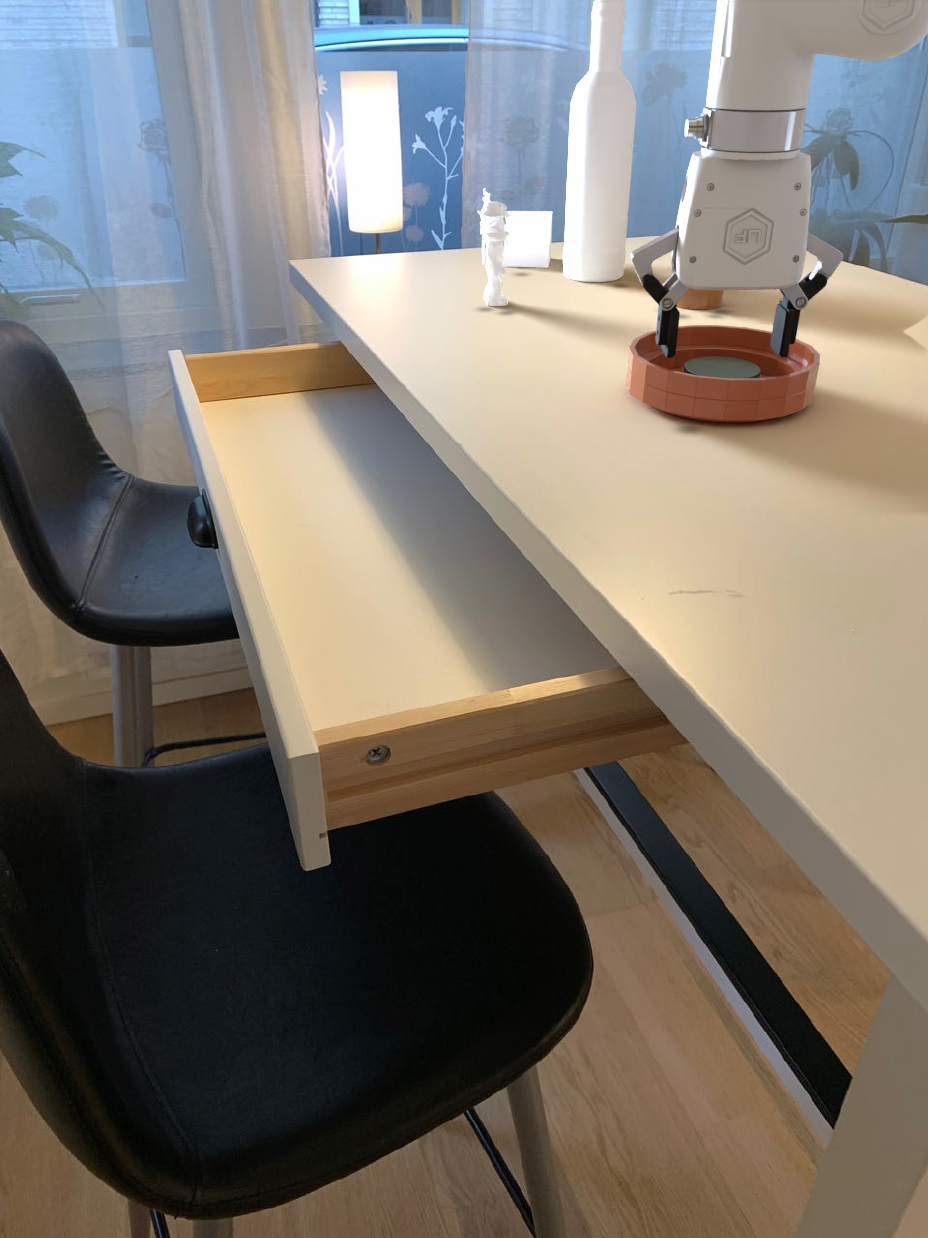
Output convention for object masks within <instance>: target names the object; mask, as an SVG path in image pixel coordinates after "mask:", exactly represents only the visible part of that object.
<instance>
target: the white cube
mask: <svg viewBox="0 0 928 1238" xmlns="http://www.w3.org/2000/svg"><path fill="white" fill-rule="evenodd" d="M507 213H510V214H512V216H510V217H506V224H505V225H504V230H505V231H507V232H508V233H509V234H510V235H506V238H507V241H508V245H507V243H506V239H504V240H503V259H504V263H503V264H504V266H505V268H547V269H548V268H549V266H550V263H551V258H552V235H553V234H552V233H553V211H543V210H542V211H541V210H540V211H539V210H538V211H537V210H536V211H534V210H507Z"/></svg>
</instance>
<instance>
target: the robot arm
mask: <svg viewBox="0 0 928 1238" xmlns="http://www.w3.org/2000/svg"><path fill="white" fill-rule="evenodd" d="M927 35H928V0H717V1H716V10H715V20H714V27H713V38H712V47H711V57H710V66H709V74H708V75H709V76H708V83H707V84H708V85H707V93H706V103H705V106H706V107H703V108H702V109H703V110H702V112H701V113H700V115H696V117H687V118H686V119H685V122H684V137H685V138H694V140H697V141H699V145H701V148H700V150H699V151H694V152H692V155H691V158H690V161H689V165H688V169H687V171H686V175H685V180H684V183H683V188H682V191H681V197H680V203H679V208H678V212H677V216H676V217H677V218H676V224H675V228H673V229H671V230H669V231H668V232H666V233H663V234H662V235H660V236H659V237H657V238H655V239H653V240H651V241H648V242H647V243H645V244H643V245H640V247H638V248H635V249H634V250H632V251H631V253H630V254H629V259H630V262H631V263H632V266H633V268H634V270H635V274H636V275H637V277H638V280H639V282H640V284H641V286H642V287H643V289H644V290H645V291H646V293H647V294H648V295H649V296H650V297H651V298H652V299H653V300H654V301H655V303H657V305H658V309H657V319H656V327H655V328H656V329H655V331H656V344H657V345H661V349H662V351H663V353H664V354H665V356H666V358H673V356H675V354H676V345H677V335H678V327H680V325H679V324H680V317H681V316H680V315H681V313H680V310H679V309H678V307H677V303H678V302H679V301H680V299H681V298H682V297H683V296H684V295H685V294H686V293H687V292H688V291H689V290H690V289H696V290H725V291H771V290H772V291H773V290H774V291H775V290H778V291H779V292H780V294H781V295H782V298H781V300H778V303H776V306H775V313H774V319H773V325H772V330H771V332H772V337H771V343H770V346H771V348H772V349H773V350H774V351H775V352H776V353H777V355H779V356H780V357H787V356H788V352H789V346H790V344H794V343H795V340H796V339H797V335H798V334H797V333H798V329H799V323H800V317H801V311H802V310H803V309H805V308H806V307H807V306H808V303H809V301H811V300H812V299H813V298H814V297H815V296H817V294H818V293H820V292H821V291H822V290H824V288H826V286H827V285H828V281H829V279H830V278H832V275H833V274H834V273H835V271H836V270H837V268H838V267H839V265H840V264H841V262H843V259H844V254H843V252H842V251H840V250H839V249H837V248H836V247H835V246H832V245H831V244H829V243H827V242H825V241H824V240H823V239H820V238H819V237H817V236H815V235H814V234H813V233H810V232H809V225H810V213H811V196H812V195H811V193H812V191H811V190H812V160H811V155H810V154H808V153H805V152H801V147H802V141H803V135H804V129H805V122H806V116H807V108H808V102H809V95H810V89H811V82H812V76H813V70H814V65H815V57H816V55H828V56H834V57H842V58H847V59H853V60H859V61H866V62H880V61H885V60H889V59H893V58H896V57H898V56H900V55H903V54H905V53H907V52H908V51H910V50H911V49H913V48H914V47H915V46H917V45H918V44H919V43H920V42H921V41H922V40H923V39H924V38H925V37H926V36H927ZM807 252H808V253H809V254H811V255H812V256H815V257H816V258H817V262H816V264H815V265H814V268H813V270H812V271H810V272H809V273H808V274H806V276H804V277H803V278H802V276H803V273H804V268H805V262H806V255H807ZM669 253H671V271H672V270H673V272H674V273H673V274H672V273H671V275H670V276H669V277H668V278H667V279H666V280H665V281H664V283H661V282H660V280H659V279H658V278H657V277H656V276H655V273H654V271H653V268H652V265H653V262H655V260H657V259H660V258H662V257H663V256H665V255H667V254H669ZM801 278H802V279H801Z"/></svg>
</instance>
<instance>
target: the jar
mask: <svg viewBox="0 0 928 1238" xmlns="http://www.w3.org/2000/svg"><path fill="white" fill-rule="evenodd" d="M673 273H674V272H673V270H672V269H671V275H672V274H673ZM725 293H726V290H696V289H690V290H689V291H688V292H687V293H686V294H685V295H684V296H683V297H682V298H681V299H680V301H679V302H678V303H677V306H678V307H677V308H681V307H682V308H681V309H688V308H689V309H688V310H701V311H702V310H713V309H718V308H720V307H722V306H723V305H724V300H725Z"/></svg>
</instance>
